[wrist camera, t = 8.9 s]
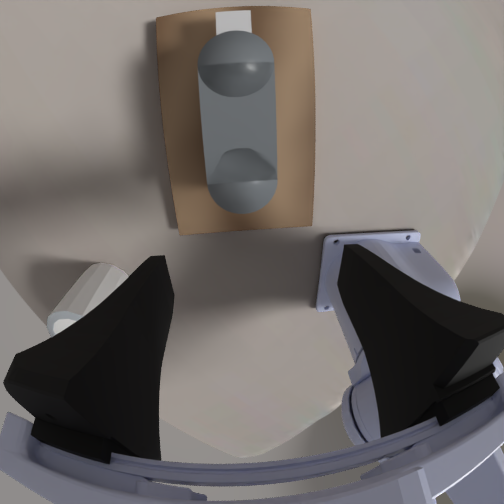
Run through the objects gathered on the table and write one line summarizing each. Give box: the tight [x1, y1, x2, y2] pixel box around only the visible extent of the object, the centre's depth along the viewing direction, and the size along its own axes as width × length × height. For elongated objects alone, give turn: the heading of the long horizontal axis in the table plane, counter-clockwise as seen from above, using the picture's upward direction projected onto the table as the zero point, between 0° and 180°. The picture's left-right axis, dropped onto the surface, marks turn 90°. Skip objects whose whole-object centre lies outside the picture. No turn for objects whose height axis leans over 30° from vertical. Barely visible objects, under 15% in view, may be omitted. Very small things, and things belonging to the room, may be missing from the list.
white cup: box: [47, 262, 129, 337], centre depth 19 cm, size 7×7×7 cm
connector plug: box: [198, 10, 278, 214], centre depth 13 cm, size 4×11×4 cm, turn 2°
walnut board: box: [156, 6, 315, 235], centre depth 15 cm, size 10×16×1 cm, turn 3°
